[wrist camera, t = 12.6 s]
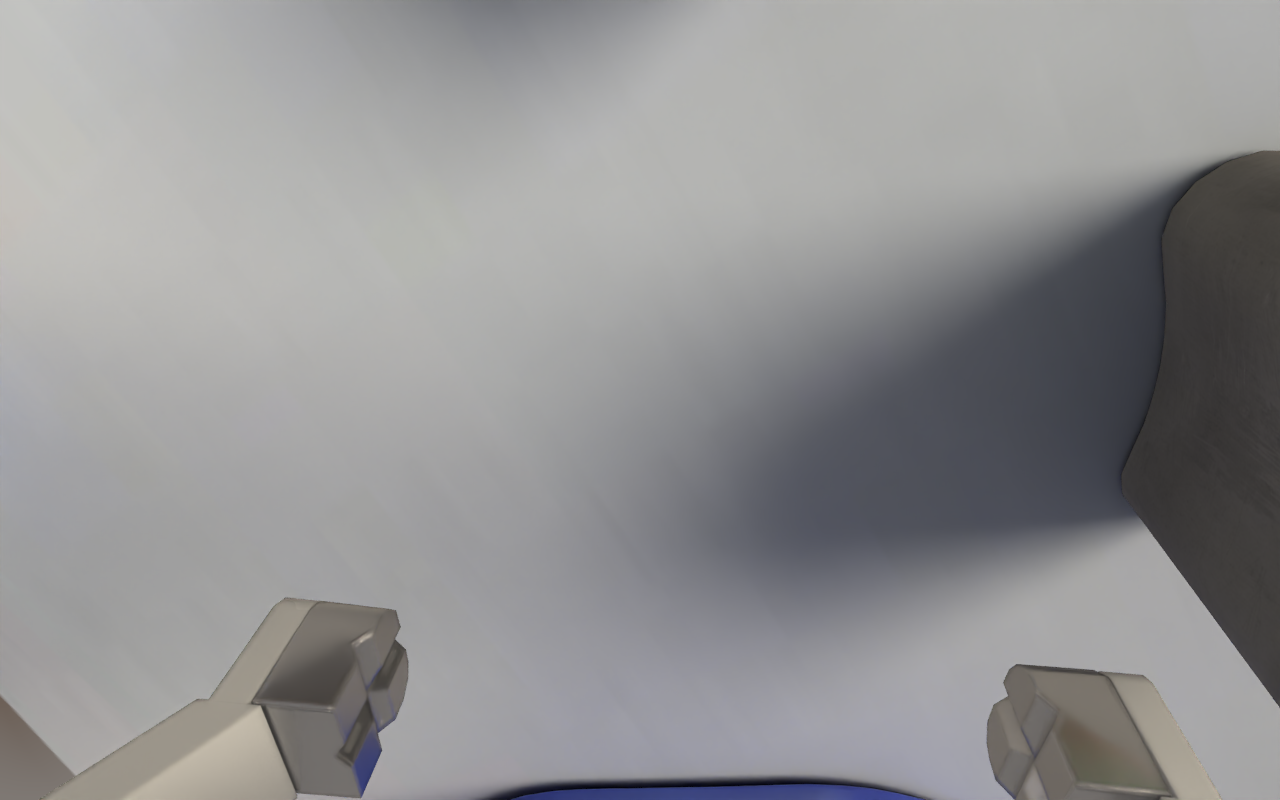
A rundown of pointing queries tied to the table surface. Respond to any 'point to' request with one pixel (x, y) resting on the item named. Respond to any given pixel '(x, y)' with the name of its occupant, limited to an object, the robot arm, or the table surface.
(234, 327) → the table surface
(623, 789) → the caddy
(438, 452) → the table surface
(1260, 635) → the flask
